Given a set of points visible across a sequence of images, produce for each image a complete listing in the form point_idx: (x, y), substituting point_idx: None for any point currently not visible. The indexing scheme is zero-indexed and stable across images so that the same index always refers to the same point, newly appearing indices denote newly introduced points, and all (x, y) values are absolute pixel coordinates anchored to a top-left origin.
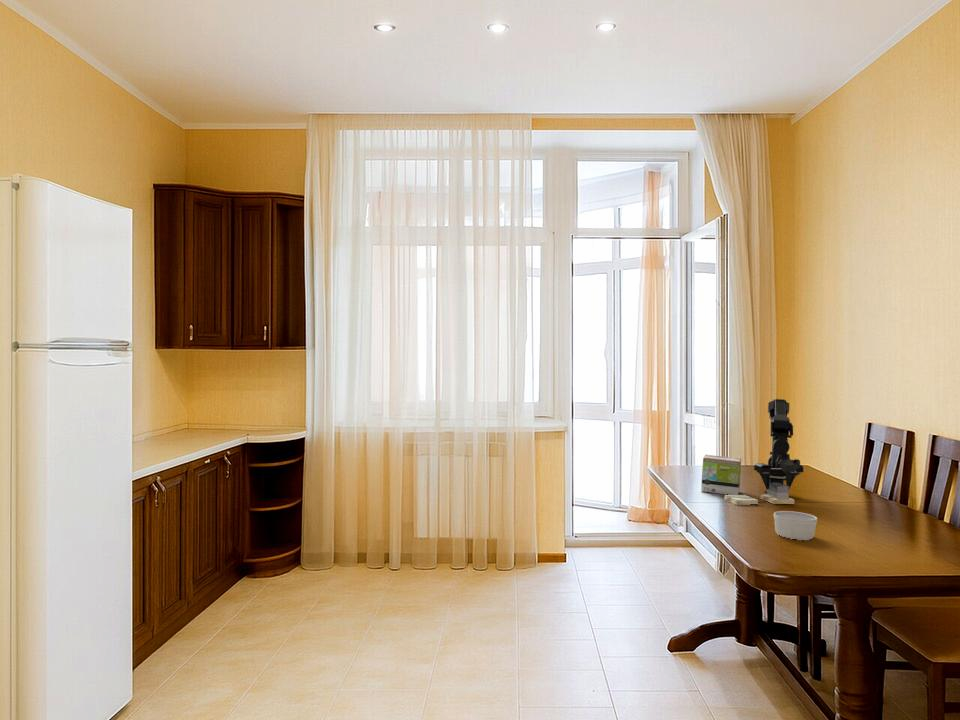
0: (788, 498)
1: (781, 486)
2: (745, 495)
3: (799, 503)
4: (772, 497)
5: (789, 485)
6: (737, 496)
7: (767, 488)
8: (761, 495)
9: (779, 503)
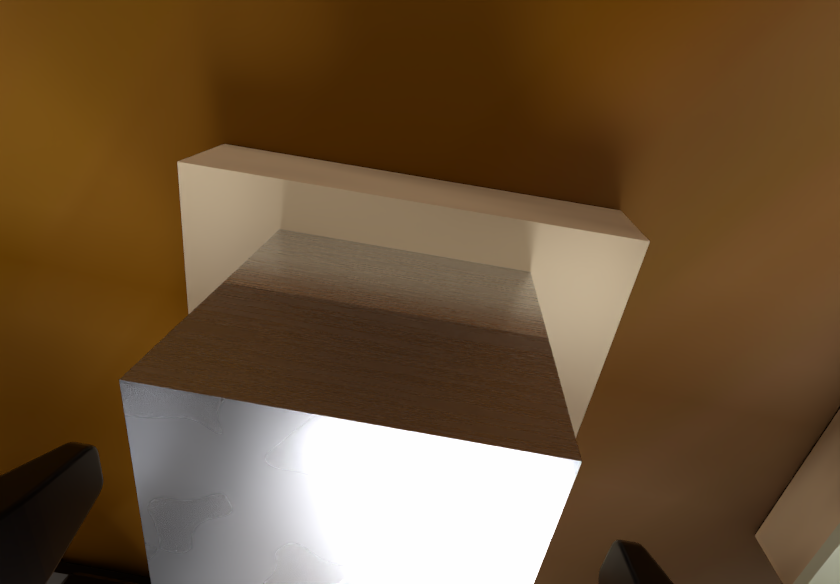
0: None
1: (413, 443)
2: (837, 578)
3: (80, 200)
4: None
5: (2, 509)
6: None
7: (657, 565)
8: None
9: (512, 197)
